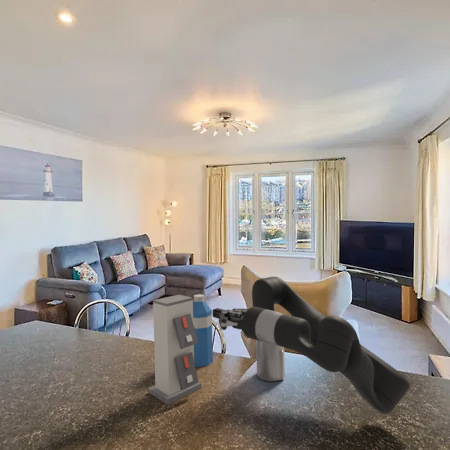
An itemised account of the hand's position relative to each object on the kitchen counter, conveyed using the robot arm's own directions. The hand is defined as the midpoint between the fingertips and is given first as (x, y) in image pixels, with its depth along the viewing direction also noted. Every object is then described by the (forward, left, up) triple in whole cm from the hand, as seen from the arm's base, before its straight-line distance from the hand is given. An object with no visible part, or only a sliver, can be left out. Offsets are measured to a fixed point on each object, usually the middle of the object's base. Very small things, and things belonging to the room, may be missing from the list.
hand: (214, 312), depth 90 cm
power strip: (+16, -10, -28) cm, 34 cm away
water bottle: (+15, -32, -28) cm, 45 cm away
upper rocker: (+10, -6, -12) cm, 17 cm away
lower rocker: (+10, -6, -24) cm, 27 cm away
